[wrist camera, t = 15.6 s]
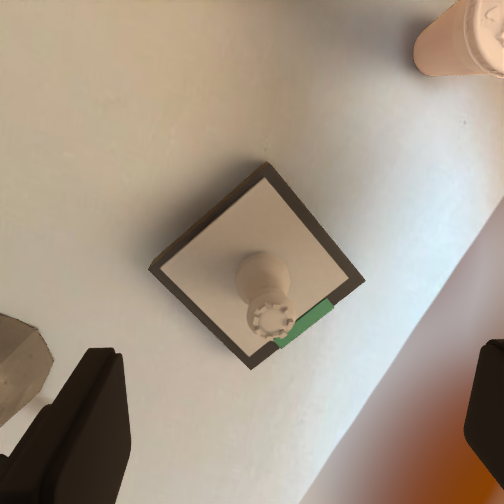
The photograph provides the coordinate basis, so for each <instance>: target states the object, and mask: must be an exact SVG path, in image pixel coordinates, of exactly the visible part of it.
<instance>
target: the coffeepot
mask: <svg viewBox="0 0 504 504" xmlns="http://www.w3.org/2000/svg"><path fill="white" fill-rule="evenodd" d="M52 364H53V360H52V357H51V355H50V352H49V350H48V347H47V345H46V343H45V342H44V340H43V339H42V337H41V336H40V335H39V334H38V332H37V330H36V329H34V328H33V327H31V326H29V325H27V324H25V323H23V322H21V321H19V320H17V319H14V318H11V317H7V316H2V315H0V427H1V426H3V425H4V424H5V423H6V422H7V421H8V420H9V419H10V418H11V417H12V416H14V415H15V414H16V413H17V412H18V411H19V410H20V409H21V408H22V407H23V406H25V405H26V404H27V403H28V402H29V401H30V400H31V399H32V398H33V397H35V396H36V395H37V394H38V393H39V392H40V390H41V388H42V386H43V384H44V382H45V380H46V378H47V376H48V373H49V371H50V368H51V366H52ZM7 459H8V457H7V456H5V455H4V454H0V469H1V468H2V466H3V465H4V463H5V462H6V460H7Z"/></svg>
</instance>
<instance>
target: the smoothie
mask: <svg viewBox="0 0 504 504" xmlns="http://www.w3.org/2000/svg"><path fill="white" fill-rule="evenodd" d="M413 57H414V62H415V64H416V66H417V68H418V69H419V70H420V71H421V72H422V73H424V74H425V75H428V76H449V75H475V74H489V75H492V76H494V77H496V78H504V0H459V1H458V2H456V3H455V4H454V5H453V6H452V7H450V8H449V9H448V10H447V11H446V12H445V13H443V14H442V15H441V16H440V17H439V18H438V19H436V20H435V21H434V22H433V23H432V24H430V25H429V26H428V27H427V28H426V29H425V30H423V31H422V32H421V34H420V35H419V36H418V38H417V40H416V42H415V45H414V49H413Z"/></svg>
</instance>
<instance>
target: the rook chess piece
mask: <svg viewBox="0 0 504 504" xmlns="http://www.w3.org/2000/svg"><path fill="white" fill-rule="evenodd" d="M235 285H236V289H237V292H238V295H239V296H240V297H241V299H242V300H243V301H244V303H246V304H247V305H249V306H248V310H247V315H246V319H247V323H248V326H249V327H250V329H251V330H252V331H253V332H254V333H255V334H257V335H258V336H260V337H263V338H265V339H266V340H269V341H273V338H276V337H280V338H281V339H282V338H284V337H285V336H287V332H289V331H290V329H292V327H293V325H294V324H295V320H296V316H297V313H296V308H295V305H294V304H293V302H292V301H291V300H290V298H288V297H287V294H288V291H289V287H290V278H289V273H288V268H287V267H286V266H285V264H284V263H283V261H282V260H281V259H279V258H277V257H276V256H274V255H271V254H265V253H260V254H256V255H251V256H250V257H248V258H247V259H245V260H244V261H242V263H241V264H240V266H239V267H238V269H237V270H236V275H235Z"/></svg>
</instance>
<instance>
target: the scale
mask: <svg viewBox="0 0 504 504" xmlns="http://www.w3.org/2000/svg"><path fill="white" fill-rule="evenodd" d="M260 253H265V254H271V255H274V256H276V257H277V258H279V259H281V260H282V261H283V263H284V264H285V266H286V267H287V268H288V273H289V278H290V287H289V291H288V294H287V297H288V298H290V300H291V301H292V302H293V304H294V305H295V308H296V313H297V316H296V320H295V324H294V325H293V327H292V329H290V331H289V332H287V336H285V337H284V338H282V339H281V338H280V337H276V338H273V341H269V340H266V339H265V338H263V337H260V336H258V335H257V334H255V333H254V332H253V331H252V330H251V329H250V327H249V326H248V323H247V319H246V315H247V310H248V306H249V305H247V304H246V303H244V301H243V300H242V299H241V297H240V296H239V295H238V292H237V289H236V285H235V275H236V270H237V269H238V267H239V266H240V264H241V263H242V261H244V260H245V259H247V258H248V257H250V256H251V255H256V254H260ZM148 270H149V271H150V272H151V273H152V274H153V275H154V276H155V277H156V278H157V279H158V280H159V281H160V282H161V283H162V284H163V285H164V286H165V287H166V288H167V289H168V290H169V291H170V292H171V293H172V294H173V295H175V296H176V297H177V298H178V299H179V300H180V301H181V302H182V303H183V304H184V305H185V306H186V307H187V308H188V309H189V310H190V311H191V312H192V313H193V314H194V315H195V316H196V317H197V318H198V319H199V320H200V321H201V322H202V323H203V324H204V325H205V326H206V327H207V328H208V329H209V330H210V331H211V332H212V333H213V334H214V335H215V336H216V337H217V338H219V339H220V340H221V341H222V342H223V343H224V344H225V345H226V346H227V347H228V348H229V349H230V350H231V351H232V352H233V353H234V354H235V355H236V356H237V357H238V358H239V359H240V360H241V361H242V362H243V363H244V364H245V365H246V366H247V367H248V368H249V369H250V370H252V369H253V368H255V367H256V366H257V365H259V364H260V363H261V362H262V361H264V360H265V359H266V358H267V357H269V356H270V355H271V354H273V353H274V352H275V351H276V350H278V349H279V348H281V349H282V348H283V347H285V346H286V345H287V344H288V343H290V342H291V341H292V340H294V339H295V338H296V337H297V336H299V335H300V334H301V333H303V332H304V331H305V330H306V329H308V328H309V327H310V326H311V325H313V324H314V323H315V322H317V321H318V320H319V319H320V318H322V317H323V316H324V315H326V314H327V313H328V312H329V311H331V310H332V309H333V308H334V305H335V304H337V303H338V302H339V301H340V300H342V299H343V298H344V297H346V296H347V295H348V294H349V293H351V292H352V291H353V290H355V289H356V288H357V287H358V286H360V285H361V284H362V283H364V282H365V281H366V280H365V279H364V278H363V276H362V275H361V274H360V273H359V272H358V270H357V269H356V268H355V267H354V265H353V264H352V263H351V262H350V261H349V259H348V258H347V257H346V256H345V254H344V253H343V252H342V251H341V250H340V248H339V247H338V246H337V245H336V243H335V242H334V241H333V240H332V239H331V237H330V236H329V235H328V234H327V232H326V231H325V230H324V229H323V228H322V226H321V225H320V224H319V223H318V221H317V220H316V219H315V218H314V217H313V215H312V214H311V213H310V212H309V210H308V209H307V208H306V207H305V206H304V204H303V203H302V202H301V201H300V199H299V198H298V197H297V196H296V195H295V193H294V192H293V191H292V190H291V188H290V187H289V186H288V185H287V183H286V182H285V181H284V180H283V179H282V177H281V176H280V175H279V174H278V172H277V171H276V170H275V169H274V168H273V166H272V165H271V164H270V163H268V162H265V163H264V164H263V165H262V166H261V167H259V168H258V169H257V170H256V171H255V172H254V173H253V174H251V175H250V176H249V177H248V178H247V179H246V180H245V181H243V182H242V183H241V184H240V185H239V186H238V187H237V188H235V189H234V190H233V191H232V192H231V193H230V194H229V195H227V196H226V197H225V198H224V199H223V200H222V201H221V202H219V203H218V204H217V205H216V206H215V207H214V208H213V209H211V210H210V211H209V212H208V213H207V214H206V215H205V216H203V217H202V218H201V219H200V220H199V221H198V222H197V223H195V224H194V225H193V226H192V227H191V228H190V229H189V230H187V231H186V232H185V233H184V234H183V235H182V236H181V237H179V238H178V239H177V240H176V241H175V242H174V243H173V244H171V245H170V246H169V247H168V248H167V249H166V250H165V251H163V252H162V253H161V254H160V255H159V256H158V257H157V258H155V259H154V260H153V262H152V264H151V265H150V267H149V269H148Z"/></svg>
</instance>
